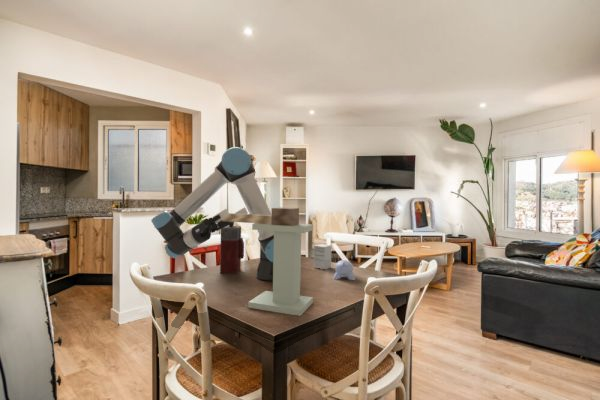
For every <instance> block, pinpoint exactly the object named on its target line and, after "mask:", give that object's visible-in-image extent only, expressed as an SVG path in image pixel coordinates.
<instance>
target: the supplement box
mask: <svg viewBox="0 0 600 400" xmlns="http://www.w3.org/2000/svg"><path fill="white" fill-rule="evenodd" d="M313 268H314V269H317V268H320V269H319V270H323V269H325V270H327V269H330V268H332V244H331V245H330V244H327V243H326V244H325V243H319V244H315V245H313Z"/></svg>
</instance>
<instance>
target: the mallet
mask: <svg viewBox="0 0 600 400" xmlns="http://www.w3.org/2000/svg"><path fill="white" fill-rule="evenodd" d="M228 213H229V216H228V217H226V218H225V219H223V220H222V221H227V222H234V223H245V224H246V223H248V224H254V223H261V224H271V225H283V226H294V225H298V224H300V208H299V207H282V206H281V207H280V206H279V207H272V208H271V214H272V215H255V214H250V213H248V214H235V213H236V212H235V213H233V212H232V213H231V212H228Z"/></svg>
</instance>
